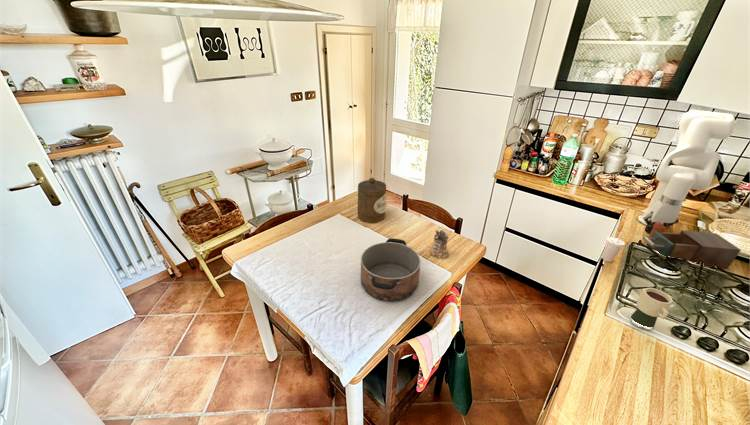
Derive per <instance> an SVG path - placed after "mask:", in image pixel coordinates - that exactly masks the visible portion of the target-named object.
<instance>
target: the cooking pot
mask: <svg viewBox="0 0 750 425" xmlns="http://www.w3.org/2000/svg"><path fill="white" fill-rule="evenodd" d="M420 272H421V257H420V255H419V254H418V252H417V251H416V250H415V249H413V248H412V247H410V246H408V245H407V242H406V241H405V240H404V239H401V238H400V239H399V238H393V237H392V238H388V239H386V241H385V242H378V243H375V244H373V245H370V246H369V247H367V248H366V249H365V250H364V251H363V252H362V253H361V256H360V283H361V286H362V288H363V289H364V291H365V292H366V293H367V294H368V295H369V296H371V297H373V298H375V299H377V300H380V301H386V302H396V301H402V300H405V299H407V298H409V297H411V296H412V295H413V294H414V293H415V292H416V291H417V289H418V286H419V280H420Z"/></svg>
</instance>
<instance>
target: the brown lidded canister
mask: <svg viewBox="0 0 750 425" xmlns="http://www.w3.org/2000/svg"><path fill="white" fill-rule="evenodd" d="M386 208H387V184H386V183H385V182H384V181H381V180H376V179H375V178H374V177H370V178H369V179H368V180H363V181H360V182H359V183H358V184H357V218H358V219H359V220H360V221H361V222H364V223H367V224H375V223H379V222H382V221H384V219H386Z"/></svg>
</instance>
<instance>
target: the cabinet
mask: <svg viewBox="0 0 750 425" xmlns="http://www.w3.org/2000/svg"><path fill="white" fill-rule="evenodd" d="M678 234H684V235H685V236H687V237H688V238H689V239H691V240H692V241H693V242H695V243H696V244H697V245H699V246H700V248H699V250H698V251H697V253H696V254H695V256H694V257H693V259H692V260H691V261H692V262H699V261H700V260H701V259H702V260H703V263H704V266H703V267H706V266H708V267H707V268H714V267H713V265H714V264H717V265H718V267H719V268H718V269H726V270H728V269H729V267H731V264H732V263H733V262H734V260H735V259H736V258H737V256H738V255H739V254H740V252H741V251H742V249H740V248H739V247H737V246H736V245H734V244H733V243H731V242H730V241H728V240H727V239H725V238H724V237H722V236H721V235H719V234H718V233H715V232H705V231H704V232H703V231H693V230H683V229H682V230H680V232H679V233H678ZM689 261H690V260H689Z"/></svg>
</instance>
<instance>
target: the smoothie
mask: <svg viewBox="0 0 750 425" xmlns="http://www.w3.org/2000/svg"><path fill="white" fill-rule="evenodd" d="M622 235H623V232H622V231H621V232H620V233H619V234H618V237H614V236H608V237H607V238H606V239H605V242H606V243H605V246H604V250H603V254H602V257H601V259H602V260H603V261H605V262H608V263H612V262H613V261H614V260H615V258H616V257H617V256H618V254H619V253H620V252H621V249H622V248H624V247H625V245H626V243H625V241H624V240H622V239H620V238H621V237H622Z"/></svg>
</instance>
